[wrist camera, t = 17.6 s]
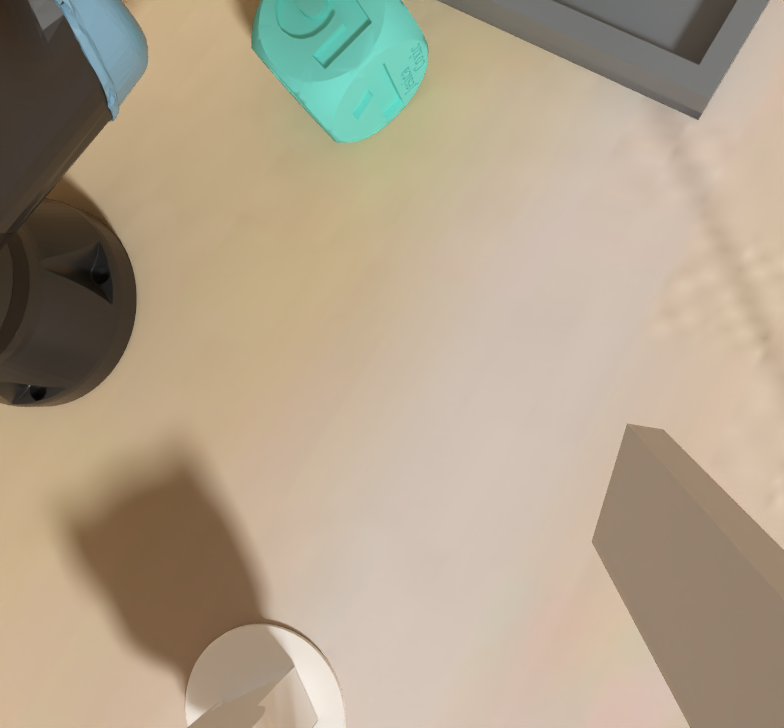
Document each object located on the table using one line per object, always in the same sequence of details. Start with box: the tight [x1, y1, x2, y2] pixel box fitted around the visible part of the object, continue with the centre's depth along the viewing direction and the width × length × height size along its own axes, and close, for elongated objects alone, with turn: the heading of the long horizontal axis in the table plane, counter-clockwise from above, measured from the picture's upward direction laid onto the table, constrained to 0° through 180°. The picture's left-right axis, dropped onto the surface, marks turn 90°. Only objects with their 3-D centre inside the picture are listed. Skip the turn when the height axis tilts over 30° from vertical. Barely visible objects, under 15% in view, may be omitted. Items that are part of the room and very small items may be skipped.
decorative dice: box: [252, 0, 428, 143], centre depth 43 cm, size 8×8×8 cm
